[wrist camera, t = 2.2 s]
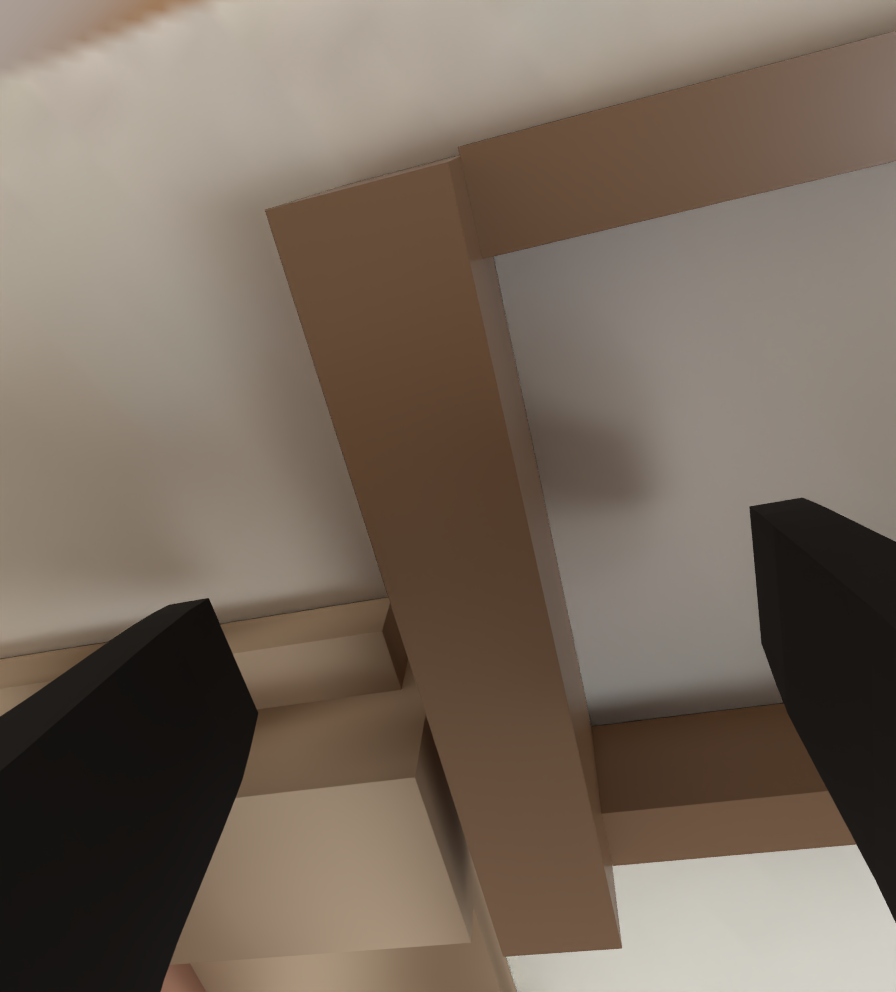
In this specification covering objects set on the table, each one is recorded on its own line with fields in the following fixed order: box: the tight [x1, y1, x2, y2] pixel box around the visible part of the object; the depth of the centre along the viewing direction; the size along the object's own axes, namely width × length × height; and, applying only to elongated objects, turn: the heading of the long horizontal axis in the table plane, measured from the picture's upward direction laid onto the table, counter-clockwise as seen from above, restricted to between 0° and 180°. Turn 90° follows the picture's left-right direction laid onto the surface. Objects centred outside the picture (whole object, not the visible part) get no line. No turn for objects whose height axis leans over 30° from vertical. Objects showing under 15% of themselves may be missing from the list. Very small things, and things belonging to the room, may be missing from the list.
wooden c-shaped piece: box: [265, 31, 896, 957], centre depth 10 cm, size 9×11×4 cm
